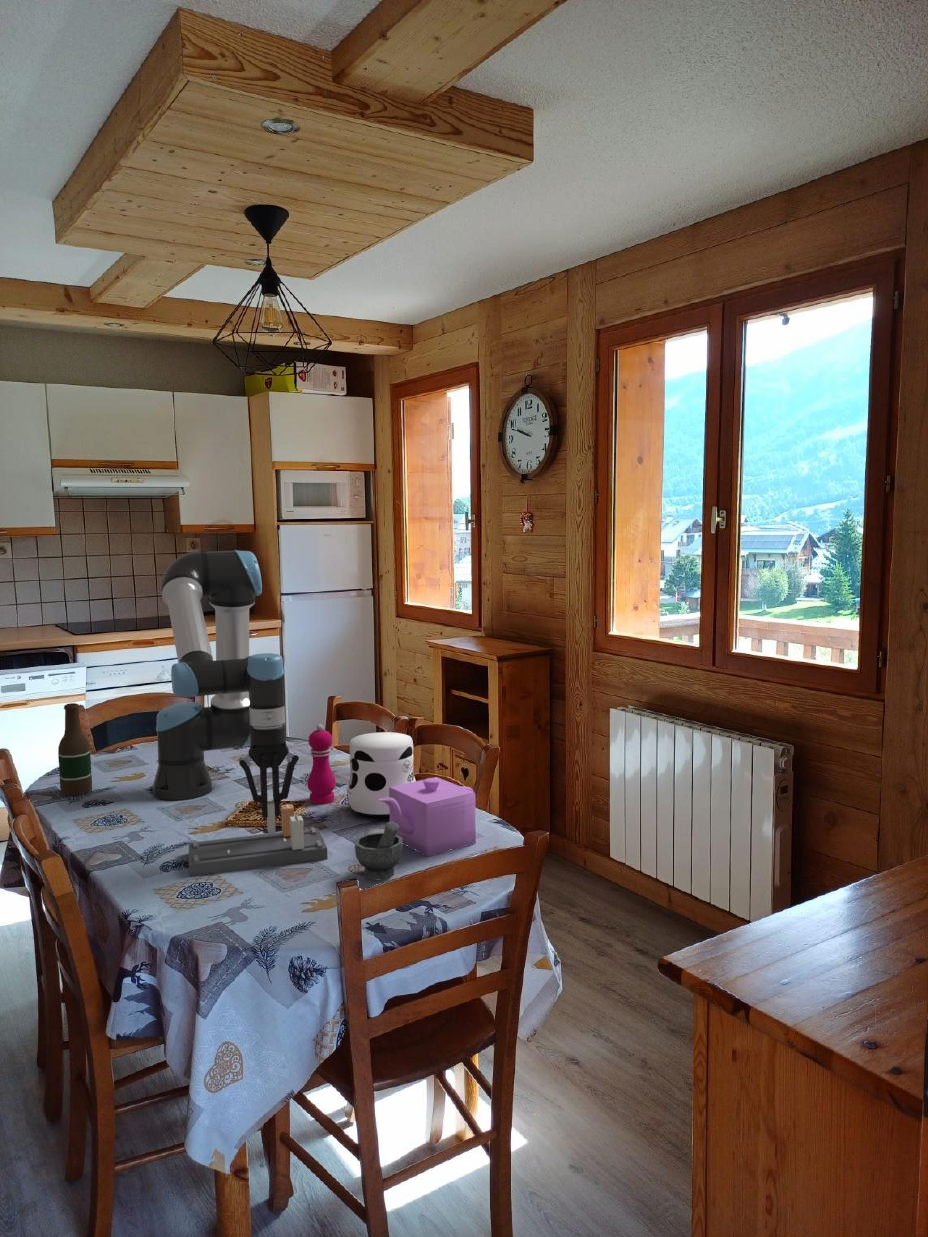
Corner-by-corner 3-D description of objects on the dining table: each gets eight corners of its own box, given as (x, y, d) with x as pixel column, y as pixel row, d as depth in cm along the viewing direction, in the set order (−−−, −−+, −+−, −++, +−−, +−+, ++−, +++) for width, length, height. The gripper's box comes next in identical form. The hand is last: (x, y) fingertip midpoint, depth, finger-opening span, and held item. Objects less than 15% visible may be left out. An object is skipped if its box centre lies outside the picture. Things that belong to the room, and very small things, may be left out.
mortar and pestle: (347, 872, 181) (345, 815, 180) (385, 860, 187) (384, 805, 186) (376, 889, 173) (375, 830, 171) (416, 877, 178) (415, 819, 177)
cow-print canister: (432, 809, 220) (431, 738, 218) (379, 827, 207) (378, 752, 205) (385, 795, 232) (384, 727, 230) (333, 811, 219) (331, 740, 217)
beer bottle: (54, 795, 235) (48, 706, 232) (76, 787, 242) (71, 700, 239) (76, 798, 232) (71, 708, 229) (98, 790, 239) (93, 702, 236)
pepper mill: (330, 805, 224) (328, 728, 221) (303, 804, 225) (301, 727, 223) (340, 797, 231) (338, 721, 228) (313, 795, 232) (311, 720, 230)
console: (188, 853, 192) (188, 840, 192) (318, 838, 201) (317, 825, 200) (189, 876, 180) (189, 862, 180) (327, 858, 188) (327, 845, 188)
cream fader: (290, 845, 189) (289, 816, 189) (302, 843, 190) (301, 815, 189) (292, 850, 186) (291, 820, 186) (304, 848, 187) (303, 819, 186)
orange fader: (282, 832, 197) (281, 804, 196) (293, 831, 198) (292, 803, 197) (283, 836, 194) (282, 808, 194) (294, 835, 195) (293, 807, 194)
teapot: (362, 844, 197) (360, 782, 196) (454, 821, 212) (453, 763, 210) (398, 865, 185) (397, 800, 183) (493, 839, 200) (492, 778, 198)
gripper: (237, 731, 187) (242, 840, 189) (300, 726, 191) (303, 833, 193) (235, 724, 194) (239, 828, 196) (295, 719, 198) (299, 822, 200)
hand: (271, 831), depth 195 cm, fingers closed
